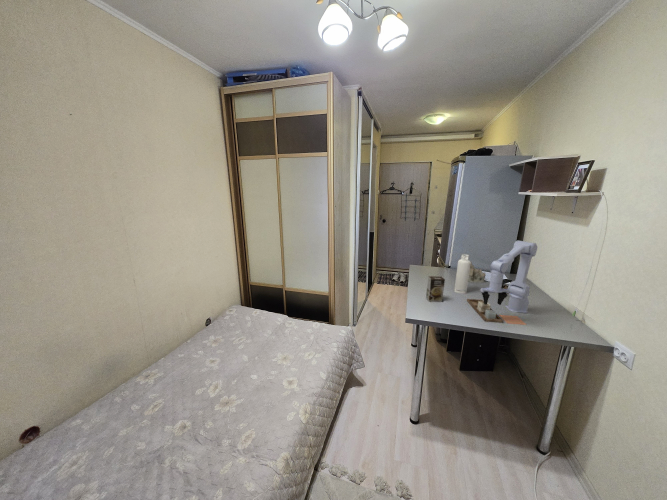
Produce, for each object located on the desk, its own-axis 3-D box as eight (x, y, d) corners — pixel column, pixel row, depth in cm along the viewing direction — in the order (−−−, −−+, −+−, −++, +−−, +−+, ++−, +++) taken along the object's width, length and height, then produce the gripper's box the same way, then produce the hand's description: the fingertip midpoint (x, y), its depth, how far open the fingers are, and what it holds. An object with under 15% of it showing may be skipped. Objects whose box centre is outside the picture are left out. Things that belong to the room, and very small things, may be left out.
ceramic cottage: (458, 279, 208) (462, 262, 204) (467, 276, 218) (471, 259, 214) (478, 286, 196) (482, 268, 193) (486, 282, 206) (490, 265, 203)
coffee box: (428, 301, 166) (431, 279, 162) (425, 297, 173) (427, 275, 169) (442, 302, 166) (445, 279, 162) (438, 298, 172) (441, 276, 168)
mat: (516, 316, 147) (516, 316, 147) (526, 325, 138) (527, 324, 137) (498, 315, 148) (498, 314, 148) (507, 324, 139) (507, 323, 139)
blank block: (491, 316, 146) (492, 310, 145) (495, 319, 142) (496, 313, 142) (484, 315, 147) (485, 309, 146) (487, 319, 143) (488, 313, 142)
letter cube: (485, 309, 155) (486, 301, 154) (489, 313, 150) (490, 305, 149) (477, 308, 156) (478, 301, 155) (480, 312, 151) (481, 304, 150)
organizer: (481, 302, 166) (482, 299, 165) (502, 323, 140) (503, 320, 139) (466, 301, 167) (466, 298, 167) (484, 322, 141) (485, 319, 140)
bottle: (463, 289, 187) (468, 253, 180) (468, 294, 179) (473, 256, 173) (452, 289, 188) (457, 253, 181) (456, 293, 180) (461, 256, 173)
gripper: (504, 279, 143) (500, 301, 146) (479, 279, 144) (475, 300, 147) (512, 284, 136) (508, 306, 139) (485, 283, 137) (482, 306, 140)
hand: (492, 304), depth 143 cm, fingers open, 7 cm apart
